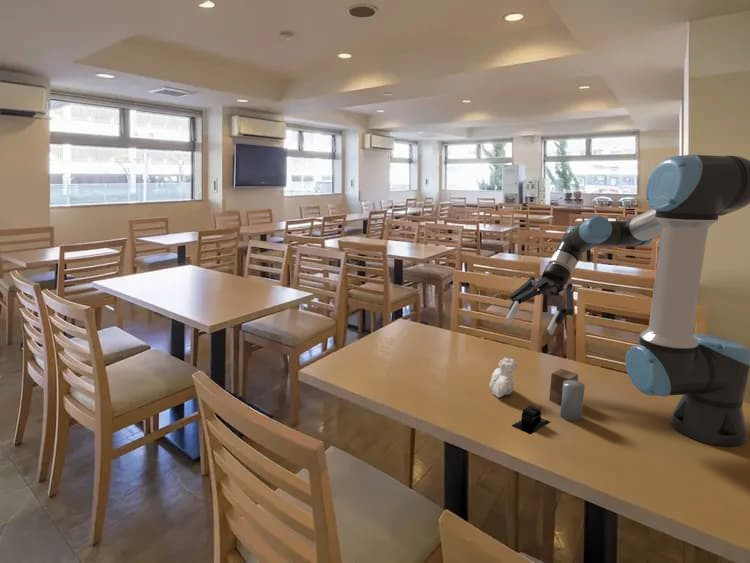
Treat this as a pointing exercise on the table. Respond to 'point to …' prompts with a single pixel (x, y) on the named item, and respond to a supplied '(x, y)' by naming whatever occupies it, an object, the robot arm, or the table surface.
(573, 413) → the grey rounded cylinder
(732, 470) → the table surface
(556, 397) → the walnut block
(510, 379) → the bust
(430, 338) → the table surface
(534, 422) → the notched block on base
